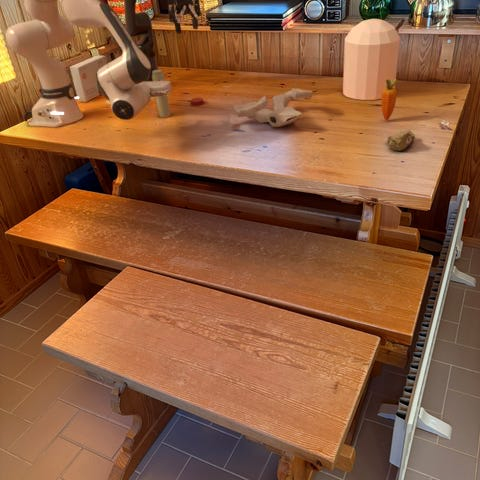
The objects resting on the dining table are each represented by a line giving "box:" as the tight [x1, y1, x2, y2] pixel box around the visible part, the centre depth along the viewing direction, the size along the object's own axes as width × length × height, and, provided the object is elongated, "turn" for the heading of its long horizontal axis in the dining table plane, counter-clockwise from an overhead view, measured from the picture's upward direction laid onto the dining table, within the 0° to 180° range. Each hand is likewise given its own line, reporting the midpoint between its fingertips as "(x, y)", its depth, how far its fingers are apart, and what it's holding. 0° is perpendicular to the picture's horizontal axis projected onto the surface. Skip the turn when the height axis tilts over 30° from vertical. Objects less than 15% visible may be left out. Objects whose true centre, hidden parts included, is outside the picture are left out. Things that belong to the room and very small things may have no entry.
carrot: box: [380, 78, 398, 122], centre depth 161 cm, size 5×5×15 cm
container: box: [342, 18, 401, 101], centre depth 185 cm, size 21×21×28 cm
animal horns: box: [231, 88, 314, 128], centre depth 171 cm, size 28×26×12 cm
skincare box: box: [69, 54, 108, 103], centre depth 218 cm, size 21×6×16 cm, turn 158°
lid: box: [190, 97, 205, 106], centre depth 199 cm, size 6×6×2 cm
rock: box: [387, 129, 416, 152], centre depth 146 cm, size 11×6×10 cm
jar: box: [152, 69, 172, 119], centre depth 185 cm, size 5×5×18 cm
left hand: (149, 82), depth 172 cm, fingers open, 8 cm apart
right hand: (187, 31), depth 183 cm, fingers open, 8 cm apart
